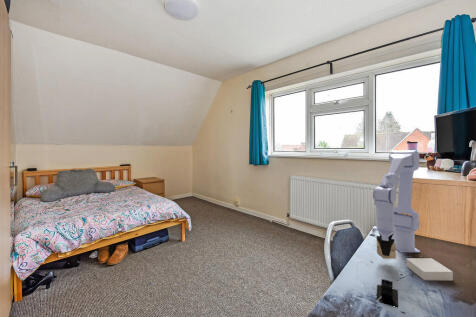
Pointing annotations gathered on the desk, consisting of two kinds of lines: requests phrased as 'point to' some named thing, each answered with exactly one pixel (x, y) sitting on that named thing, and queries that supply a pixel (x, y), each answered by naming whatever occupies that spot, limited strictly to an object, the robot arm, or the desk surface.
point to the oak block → (392, 252)
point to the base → (429, 269)
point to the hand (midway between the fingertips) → (386, 251)
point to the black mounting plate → (387, 293)
